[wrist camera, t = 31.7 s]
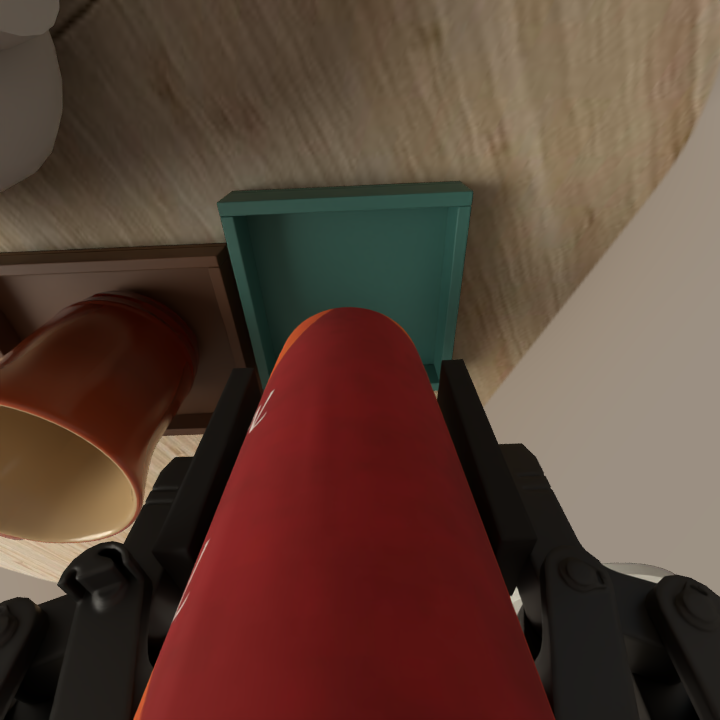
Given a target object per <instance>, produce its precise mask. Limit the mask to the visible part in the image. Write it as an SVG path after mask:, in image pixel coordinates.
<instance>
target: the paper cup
mask: <svg viewBox="0 0 720 720" xmlns="http://www.w3.org/2000/svg"><path fill="white" fill-rule="evenodd" d="M133 720H555V717H554V714H553V712H552V709H551V706H550V704H549V701H548V698H547V695H546V693H545V690H544V687H543V685H542V682H541V679H540V677H539V674H538V671H537V668H536V666H535V663H534V660H533V658H532V655H531V652H530V650H529V647H528V644H527V641H526V639H525V636H524V633H523V631H522V628H521V625H520V623H519V620H518V617H517V614H516V612H515V609H514V606H513V604H512V601H511V598H510V595H509V593H508V590H507V587H506V585H505V582H504V579H503V577H502V574H501V571H500V568H499V566H498V563H497V560H496V558H495V555H494V552H493V549H492V547H491V544H490V541H489V539H488V536H487V533H486V531H485V528H484V525H483V522H482V520H481V517H480V514H479V512H478V509H477V506H476V503H475V501H474V498H473V495H472V493H471V490H470V487H469V485H468V482H467V479H466V476H465V474H464V471H463V468H462V466H461V463H460V460H459V458H458V455H457V452H456V450H455V447H454V444H453V442H452V439H451V436H450V434H449V431H448V428H447V426H446V423H445V420H444V418H443V415H442V412H441V410H440V407H439V404H438V402H437V399H436V397H435V394H434V391H433V389H432V386H431V383H430V381H429V378H428V376H427V373H426V371H425V368H424V366H423V363H422V361H421V358H420V356H419V354H418V352H417V349H416V347H415V345H414V343H413V341H412V340H411V338H410V337H409V335H408V334H407V332H406V331H405V330H404V329H403V328H402V327H401V326H400V325H399V324H398V323H396V322H395V321H394V320H392V319H391V318H389V317H387V316H385V315H383V314H381V313H379V312H376V311H373V310H369V309H365V308H357V307H341V308H334V309H329V310H326V311H323V312H320V313H318V314H315V315H313V316H311V317H310V318H308V319H306V320H305V321H304V322H302V323H301V324H300V325H299V326H298V327H297V328H296V329H295V330H294V331H293V332H292V333H291V335H290V336H289V338H288V339H287V341H286V343H285V345H284V347H283V349H282V351H281V353H280V355H279V357H278V359H277V362H276V364H275V366H274V368H273V371H272V373H271V375H270V378H269V380H268V383H267V385H266V388H265V390H264V393H263V395H262V398H261V400H260V402H259V405H258V407H257V410H256V412H255V415H254V417H253V420H252V422H251V425H250V427H249V430H248V432H247V435H246V437H245V440H244V442H243V445H242V447H241V450H240V452H239V455H238V457H237V460H236V462H235V465H234V467H233V470H232V472H231V475H230V477H229V480H228V482H227V485H226V487H225V490H224V492H223V495H222V497H221V500H220V502H219V505H218V507H217V510H216V512H215V515H214V517H213V520H212V522H211V525H210V527H209V530H208V533H207V535H206V538H205V540H204V543H203V545H202V548H201V550H200V553H199V555H198V558H197V560H196V563H195V565H194V568H193V570H192V573H191V575H190V578H189V580H188V583H187V585H186V588H185V591H184V593H183V596H182V598H181V601H180V603H179V606H178V608H177V611H176V613H175V616H174V618H173V621H172V623H171V626H170V628H169V631H168V633H167V636H166V638H165V641H164V643H163V646H162V649H161V651H160V654H159V656H158V659H157V661H156V664H155V666H154V669H153V671H152V674H151V676H150V679H149V681H148V684H147V686H146V689H145V691H144V694H143V696H142V699H141V701H140V704H139V706H138V709H137V711H136V714H135V716H134V719H133Z"/></svg>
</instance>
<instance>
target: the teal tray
mask: <svg viewBox="0 0 720 720" xmlns="http://www.w3.org/2000/svg"><path fill="white" fill-rule="evenodd" d="M472 199H473V191H472V190H471V189H469V188H468V187H467V186H465V185H464V184H463V183H462V182H460V181H451V182H429V183H406V184H384V185H362V186H339V187H317V188H295V189H272V190H250V191H232V192H231V193H229V194H228V195H227V196H225V197H224V198H223V199H221V200H220V201H219V202H217V207H218V211H219V215H220V216H221V222H222V226H223V230H224V234H225V238H226V243H227V247H228V251H229V255H230V259H231V263H232V267H233V271H234V275H235V279H236V283H237V287H238V291H239V295H240V299H241V303H242V307H243V311H244V315H245V320H246V324H247V328H248V332H249V336H250V340H251V344H252V348H253V352H254V356H255V360H256V364H257V368H258V372H259V376H260V380H261V384H262V388H263V393H264V390H265V388H266V385H267V383H268V380H269V378H270V375H271V373H272V371H273V368H274V366H275V364H276V362H277V359H278V357H279V355H280V353H281V351H282V349H283V347H284V345H285V343H286V341H287V339H288V338H289V336H290V335H291V333H292V332H293V331H294V330H295V329H296V328H297V327H298V326H299V325H300V324H301V323H302V322H304V321H305V320H306V319H308V318H310V317H311V316H313V315H315V314H318V313H320V312H323V311H326V310H329V309H334V308H341V307H357V308H365V309H369V310H373V311H376V312H379V313H381V314H383V315H385V316H387V317H389V318H391V319H392V320H394V321H395V322H396V323H398V324H399V325H400V326H401V327H402V328H403V329H404V330H405V331H406V332H407V334H408V335H409V337H410V338H411V340H412V341H413V343H414V345H415V347H416V349H417V352H418V354H419V356H420V358H421V361H422V363H423V366H424V368H425V371H426V373H427V376H428V378H429V381H430V383H431V386H432V389H433V391H438V388H439V379H440V370H441V361H442V360H452V355H453V347H454V339H455V331H456V323H457V316H458V308H459V300H460V292H461V284H462V276H463V269H464V261H465V253H466V245H467V237H468V229H469V222H470V214H471V205H472Z"/></svg>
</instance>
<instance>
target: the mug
mask: <svg viewBox="0 0 720 720" xmlns="http://www.w3.org/2000/svg"><path fill="white" fill-rule="evenodd" d="M199 359H200V353H199V346H198V343H197V340H196V338H195V335H194V334H193V332H192V330H191V329H190V327H189V326H188V325H187V323H186V322H185V321H184V320H183V319H182V318H181V317H180V316H179V315H178V314H177V313H176V312H175V311H173V310H172V309H171V308H169V307H168V306H167V305H165V304H163V303H162V302H160V301H158V300H156V299H154V298H151V297H149V296H146V295H143V294H140V293H136V292H131V291H122V290H114V291H106V292H101V293H96V294H94V295H92V296H90V297H88V298H86V299H84V300H82V301H79V302H76V303H73V304H71V305H69V306H67V307H65V308H63V309H62V310H61V311H59V312H58V313H57V314H56V315H55V316H54V317H53V318H52V319H50V320H49V321H48V322H46V323H45V324H43V325H42V326H41V327H39V328H38V329H37V330H35V331H34V332H33V333H32V334H30V335H29V336H28V337H27V338H25V339H24V340H23V341H22V342H21V343H19V344H18V345H17V346H16V347H15V348H13V349H12V350H11V351H10V352H8V353H7V354H6V355H4V356H3V357H2V358H0V536H2V537H6V538H9V539H14V540H23V539H27V540H32V541H38V542H45V543H81V542H90V541H96V540H101V539H105V538H108V537H111V536H113V535H116V534H118V533H120V532H122V531H123V530H125V529H126V528H128V527H129V526H130V525H131V524H132V523H133V522H134V521H135V520H136V519H137V517H138V515H139V513H140V511H141V508H142V505H143V500H144V493H145V486H146V480H147V475H148V470H149V465H150V461H151V457H152V455H153V452H154V450H155V447H156V445H157V443H158V442H159V440H160V438H161V437H162V435H163V434H164V432H165V431H166V429H167V428H168V426H169V425H170V423H171V421H172V420H173V418H174V417H175V415H176V413H177V412H178V410H179V408H180V406H181V405H182V403H183V401H184V399H185V398H186V397H187V396H188V394H189V393H190V391H191V389H192V386H193V383H194V379H195V377H196V374H197V370H198V365H199Z"/></svg>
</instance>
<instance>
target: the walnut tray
mask: <svg viewBox="0 0 720 720" xmlns="http://www.w3.org/2000/svg"><path fill="white" fill-rule="evenodd" d="M114 290H122V291H131V292H136V293H140V294H143V295H146V296H149V297H151V298H154V299H156V300H158V301H160V302H162V303H163V304H165V305H167V306H168V307H169V308H171V309H172V310H173V311H175V312H176V313H177V314H178V315H179V316H180V317H181V318H182V319H183V320H184V321H185V322H186V323H187V325H188V326H189V327H190V329H191V330H192V332H193V334H194V335H195V338H196V340H197V343H198V346H199V353H200V359H199V365H198V370H197V374H196V377H195V379H194V383H193V386H192V389H191V391H190V393H189V394H188V396H187V397H186V398H185V399H184V401H183V403H182V405H181V406H180V408H179V410H178V412H177V413H176V415H175V417H174V418H173V420H172V421H171V423H170V425H169V426H168V428H167V429H166V431H165V432H164V434H163V435H162V436H170V435H197V434H204V432H205V430H206V428H207V426H208V423H209V421H210V419H211V417H212V415H213V412H214V410H215V408H216V406H217V403H218V401H219V399H220V397H221V394H222V392H223V390H224V388H225V385H226V383H227V381H228V379H229V376H230V374H231V372H232V370H233V368H254V369H255V373H256V377H257V381H258V385H259V389H260V392H261V396H262V395H263V388H262V384H261V380H260V376H259V372H258V368H257V364H256V360H255V356H254V352H253V348H252V344H251V340H250V336H249V332H248V328H247V324H246V320H245V315H244V311H243V307H242V303H241V299H240V295H239V291H238V287H237V283H236V279H235V275H234V271H233V267H232V263H231V259H230V255H229V251H228V247H227V243H218V244H194V245H171V246H148V247H125V248H102V249H79V250H55V251H32V252H9V253H0V358H2V357H3V356H4V355H6V354H7V353H8V352H10V351H11V350H12V349H13V348H15V347H16V346H17V345H18V344H19V343H21V342H22V341H23V340H24V339H25V338H27V337H28V336H29V335H30V334H32V333H33V332H34V331H35V330H37V329H38V328H39V327H41V326H42V325H43V324H45V323H46V322H48V321H49V320H50V319H52V318H53V317H54V316H55V315H56V314H57V313H58V312H59V311H61V310H62V309H63V308H65V307H67V306H69V305H71V304H73V303H76V302H79V301H82V300H84V299H86V298H88V297H90V296H92V295H94V294H96V293H101V292H106V291H114Z"/></svg>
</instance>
